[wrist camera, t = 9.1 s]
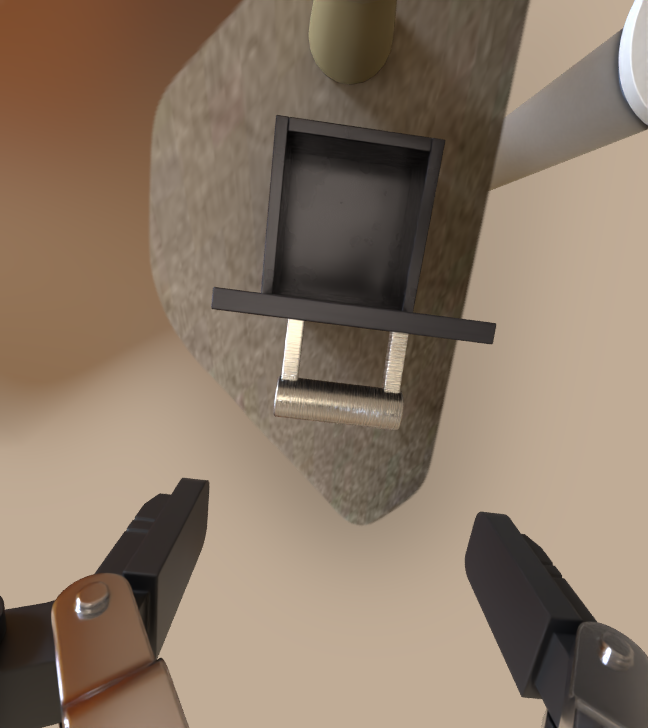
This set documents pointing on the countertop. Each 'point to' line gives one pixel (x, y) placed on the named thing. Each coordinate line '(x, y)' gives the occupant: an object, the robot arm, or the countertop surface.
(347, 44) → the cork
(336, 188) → the box
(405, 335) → the warmer lid
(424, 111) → the countertop surface
